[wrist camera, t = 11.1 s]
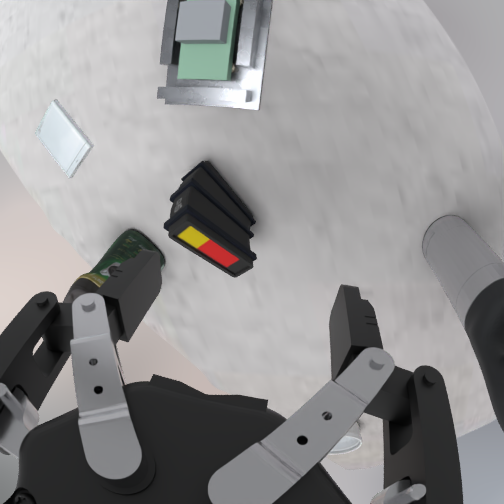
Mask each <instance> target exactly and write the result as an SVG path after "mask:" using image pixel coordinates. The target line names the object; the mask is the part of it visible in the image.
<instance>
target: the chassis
mask: <svg viewBox="0 0 504 504" xmlns="http://www.w3.org/2000/svg"><path fill="white" fill-rule="evenodd" d="M182 1H187V0H168V2H167V8H166V15H165V22H164V30H163V38H162V47H161V57H160V64H161V65H167V66H168V71H167V84H166V87H158V93H157V99H158V98H165V104H183V105H206V106H222V107H234V108H245V109H254V110H259V107H260V98H261V89H262V81H263V73H264V64H265V56H266V48H267V39H268V31H269V23H270V15H271V7H272V0H240V7H239V14H238V22H237V30H236V37H235V46H234V54H233V63H232V72H231V81H222V80H195V79H177V78H178V67H179V57H180V48H181V42H178V41H175V37H176V29H177V21H178V14H179V7H180V2H182Z"/></svg>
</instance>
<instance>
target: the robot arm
mask: <svg viewBox="0 0 504 504" xmlns="http://www.w3.org/2000/svg"><path fill="white" fill-rule="evenodd" d="M422 248H423V254H424V256H425V258H426V260H427V262H428V263H429V265H430V267H431V268H432V270H433V272H434V273H435V275H436V277H437V279H438V280H439V282H440V284H441V286H442V287H443V289H444V291H445V293H446V294H447V296H448V298H449V300H450V302H451V304H452V306H453V307H454V309H455V311H456V313H457V315H458V317H459V319H460V321H461V323H462V325H463V327H464V329H465V331H466V333H467V335H468V337H469V339H470V342H471V345H472V348H473V350H474V352H475V355H476V357H477V359H478V362H479V365H480V367H481V370H482V373H483V376H484V379H485V383H486V386H487V389H488V393H489V396H490V400H491V403H492V406H493V409H494V412H495V415H496V417H497V420H498V422H499V424H500V426H501V428H502V430H503V431H504V262H503V261H502V260H501V259H500V258H499V256H498V255H497V254H496V253H495V252H494V251H493V250H492V249H491V248H490V247H489V246H488V244H487V243H486V242H485V241H484V240H483V239H482V238H481V237H480V236H479V235H478V234H477V233H476V232H475V231H474V230H473V229H472V228H471V227H470V226H469V225H468V224H467V223H466V222H465V221H464V220H463V219H461V218H460V217H457V216H451V215H449V216H444V217H442V218H440V219H438V220H437V221H435V222H434V223H433V224H432V225H431V226H430V227H429V229H428V230H427V232H426V234H425V236H424V240H423V247H422ZM161 284H162V277H161V263H160V254H159V252H155V251H150V250H145V249H143V250H141V251H140V252H139V253H138V254H137V256H136V257H135V258H130V259H128V260H126V261H124V262H122V263H121V264H120V265H119V266H118V267H117V269H116V271H114V272H113V273H112V274H111V276H109V277H108V279H107V280H106V281H105V282H104V283H103V284H102V285H101V286H100V288H99V289H98V290H97V291H96V292H95V293H87V294H84V295H81V296H79V297H78V298H77V299H76V300H75V301H74V302H73V303H58V300H57V297H56V295H55V294H54V293H52V292H41V293H38V294H36V295H35V296H33V297H32V298H31V299H30V300H29V302H28V303H27V304H26V305H25V306H24V307H23V308H22V310H21V311H20V312H19V313H18V314H17V316H16V317H15V318H14V319H13V320H12V321H11V323H10V324H9V325H8V326H7V328H6V329H5V330H4V331H3V332H2V334H1V335H0V452H1V453H3V454H6V455H12V456H14V457H16V458H17V459H18V460H19V475H18V482H17V487H16V489H15V491H14V493H13V495H12V496H11V497H10V498H9V499H8V500H7V501H6V502H5V503H3V504H352V503H351V502H350V501H349V500H348V498H347V497H346V496H345V494H344V493H343V492H342V491H341V489H340V488H339V487H338V485H337V484H336V483H335V481H334V480H333V479H332V478H331V476H330V475H329V474H328V472H327V471H326V470H325V468H324V467H323V466H322V465H321V463H320V462H321V461H322V460H323V459H324V458H325V457H326V456H327V454H328V453H329V452H330V451H331V450H332V449H333V448H334V447H335V446H336V444H337V443H338V442H339V441H340V440H341V439H342V438H343V437H344V435H345V434H346V433H347V432H348V431H349V430H350V428H351V427H352V426H353V425H354V424H355V422H356V421H357V420H358V419H359V418H360V416H361V415H362V414H363V413H367V414H370V415H373V416H376V417H378V418H381V419H383V437H384V490H382V491H381V492H379V493H377V494H376V495H375V496H374V498H373V499H372V501H371V503H370V504H463V494H462V493H463V492H462V480H461V470H460V462H459V454H458V447H457V441H456V435H455V429H454V424H453V418H452V413H451V409H450V404H449V399H448V395H447V391H446V387H445V383H444V379H443V377H442V375H441V374H440V373H439V371H437V370H436V369H435V368H433V367H430V366H420V367H418V368H417V369H416V370H415V371H414V373H413V372H410V371H408V370H405V369H402V368H399V367H397V366H395V364H394V360H393V358H392V357H391V355H390V354H389V353H387V352H386V351H384V350H383V345H382V341H381V336H380V332H379V328H378V326H377V325H378V323H377V319H376V315H375V311H374V308H373V307H372V305H371V304H370V303H369V301H368V300H363V299H361V296H360V292H359V288H358V287H355V286H348V285H341V286H340V288H339V291H338V294H337V297H336V300H335V303H334V306H333V308H332V311H331V315H330V321H329V330H330V348H331V372H332V380H330V381H329V382H328V383H327V384H326V385H325V386H324V387H322V388H321V389H320V390H319V391H318V392H317V393H316V394H315V395H314V396H313V397H312V398H311V399H310V400H309V401H308V402H307V403H305V404H304V405H303V406H302V407H301V408H300V409H299V410H298V411H297V412H295V413H294V414H293V415H292V416H291V417H290V418H289V419H286V418H284V417H283V416H281V415H280V414H278V413H277V412H275V411H273V410H271V409H268V408H267V403H268V400H265V399H259V398H253V397H248V396H242V395H207V394H204V393H202V392H200V391H198V390H196V389H194V388H192V387H190V386H188V385H186V384H184V383H182V382H180V381H176V380H172V379H169V378H165V377H162V376H158V375H155V374H153V376H152V378H151V380H150V382H148V381H143V382H134V383H130V384H126V381H125V377H124V374H123V370H122V366H121V362H120V358H119V354H118V350H117V346H116V343H117V342H118V340H122V341H126V342H129V340H130V338H131V337H132V335H133V334H134V332H135V330H136V329H137V327H138V326H139V324H140V322H141V321H142V319H143V318H144V316H145V314H146V313H147V311H148V310H149V308H150V307H151V305H152V303H153V302H154V300H155V299H156V297H157V296H158V294H159V292H160V289H161ZM41 337H42V338H43V340H44V341H43V342H42V344H41V345H40V347H39V348H38V350H37V351H36V352H35V354H34V355H33V349H34V347H35V345H36V344H37V342H38V341H39V339H40V338H41ZM70 355H71V356H72V367H73V375H74V383H75V391H76V397H77V403H78V408H76V409H74V410H72V411H69V412H67V413H65V414H63V415H61V416H59V417H56V418H54V419H52V420H50V421H47V422H45V423H43V424H41V425H38V422H39V414H38V410H39V408H40V406H41V404H42V402H43V400H44V399H45V397H46V395H47V393H48V392H49V390H50V388H51V386H52V384H53V383H54V381H55V380H56V378H57V376H58V374H59V373H60V371H61V370H62V368H63V366H64V365H65V363H66V361H67V360H68V358H69V356H70Z"/></svg>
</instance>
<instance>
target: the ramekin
mask: <svg viewBox="0 0 504 504" xmlns="http://www.w3.org/2000/svg"><path fill="white" fill-rule="evenodd" d="M361 444H362V438H361V435H360V430H359V425H358V423H357V422H355V424H354V425H353V426H352V427H351V428H350V430H349V431H348V432H347V433H346V434H345V435H344V437H343V438H342V439H341V440H340V441H339V442H338V443H337V444H336V446H335V447H334V448H333V449H332V450H331V451H330V452H329V453H328V454H330V455H335V454H344V453H348V452H351V451H354V450H356V449H358V448H359V447H360V446H361Z"/></svg>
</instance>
